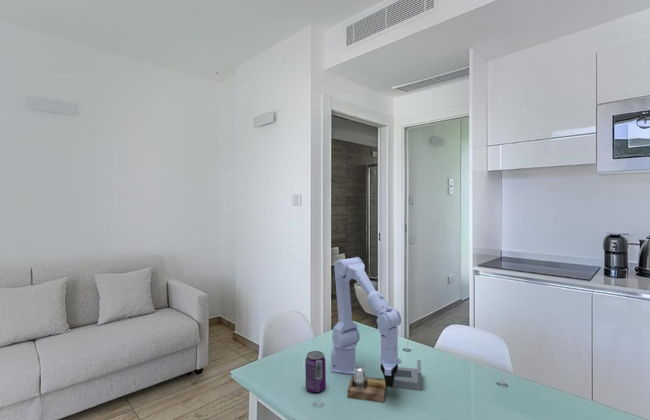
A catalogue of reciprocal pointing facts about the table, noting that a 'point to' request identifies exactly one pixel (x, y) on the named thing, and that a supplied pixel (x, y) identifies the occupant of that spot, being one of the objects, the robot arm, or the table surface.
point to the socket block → (366, 391)
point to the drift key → (376, 383)
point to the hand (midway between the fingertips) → (389, 385)
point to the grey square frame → (411, 373)
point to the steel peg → (360, 376)
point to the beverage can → (315, 371)
